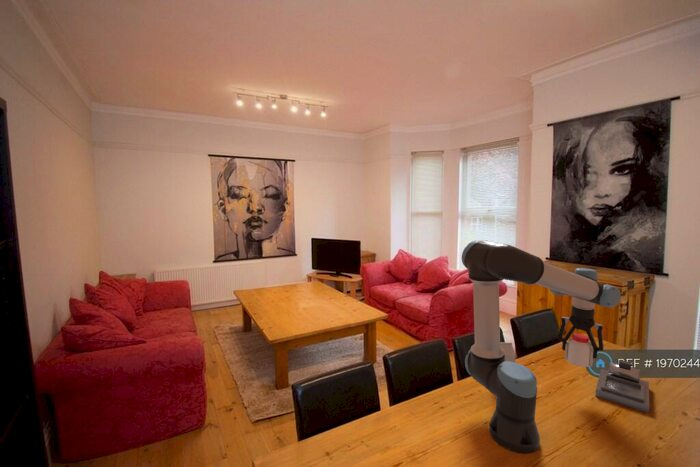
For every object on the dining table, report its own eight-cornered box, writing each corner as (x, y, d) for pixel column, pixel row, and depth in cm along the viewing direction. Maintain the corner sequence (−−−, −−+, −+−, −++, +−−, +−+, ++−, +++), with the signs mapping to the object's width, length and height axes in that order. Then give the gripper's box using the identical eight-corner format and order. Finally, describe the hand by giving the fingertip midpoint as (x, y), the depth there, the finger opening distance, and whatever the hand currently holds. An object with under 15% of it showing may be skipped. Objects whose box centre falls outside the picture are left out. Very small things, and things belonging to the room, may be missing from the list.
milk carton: (513, 389, 137) (516, 346, 135) (496, 389, 137) (498, 346, 135) (506, 380, 144) (508, 339, 142) (489, 380, 144) (491, 338, 142)
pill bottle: (562, 359, 135) (564, 334, 134) (574, 356, 138) (576, 331, 137) (582, 368, 128) (584, 341, 127) (594, 364, 131) (596, 338, 130)
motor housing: (648, 413, 122) (651, 387, 121) (595, 396, 133) (597, 372, 132) (647, 388, 138) (650, 365, 137) (600, 375, 149) (602, 354, 148)
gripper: (616, 310, 127) (611, 367, 129) (555, 299, 141) (551, 350, 143) (615, 315, 121) (609, 374, 123) (551, 303, 135) (547, 356, 137)
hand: (578, 361), depth 133 cm, fingers closed on pill bottle, 8 cm apart
